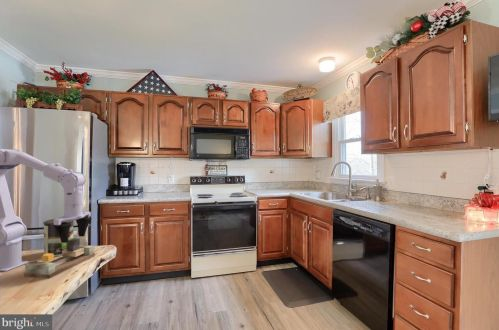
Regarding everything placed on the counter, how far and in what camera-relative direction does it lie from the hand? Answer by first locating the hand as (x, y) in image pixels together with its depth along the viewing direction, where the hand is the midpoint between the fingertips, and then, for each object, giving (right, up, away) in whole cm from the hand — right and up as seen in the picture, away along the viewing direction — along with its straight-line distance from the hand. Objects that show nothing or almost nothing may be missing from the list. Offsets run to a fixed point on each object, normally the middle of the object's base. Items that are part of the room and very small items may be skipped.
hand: (73, 239), depth 94 cm
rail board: (-3, -10, -1) cm, 10 cm away
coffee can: (-15, -10, +11) cm, 21 cm away
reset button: (-1, -4, -10) cm, 11 cm away
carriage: (-2, -7, +3) cm, 8 cm away
